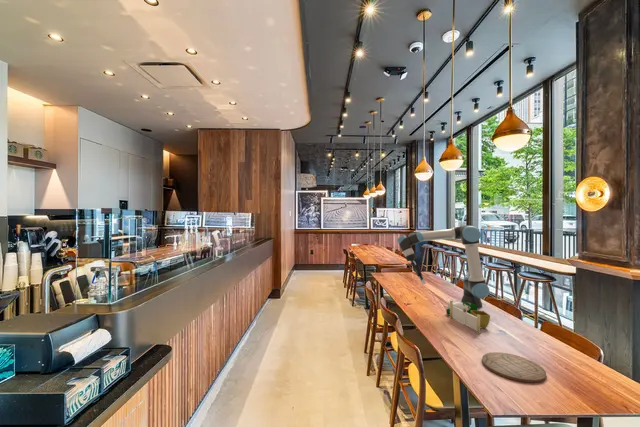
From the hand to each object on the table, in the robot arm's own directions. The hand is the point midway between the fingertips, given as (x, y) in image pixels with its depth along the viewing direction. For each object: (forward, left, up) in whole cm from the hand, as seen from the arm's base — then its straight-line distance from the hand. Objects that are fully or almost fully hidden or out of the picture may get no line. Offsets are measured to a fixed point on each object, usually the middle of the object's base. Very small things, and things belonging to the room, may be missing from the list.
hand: (424, 283), depth 216 cm
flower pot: (-9, +38, -21) cm, 44 cm away
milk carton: (-27, +23, -16) cm, 39 cm away
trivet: (+27, +77, -21) cm, 84 cm away
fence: (-3, +32, -21) cm, 38 cm away
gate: (-3, +27, -20) cm, 33 cm away
